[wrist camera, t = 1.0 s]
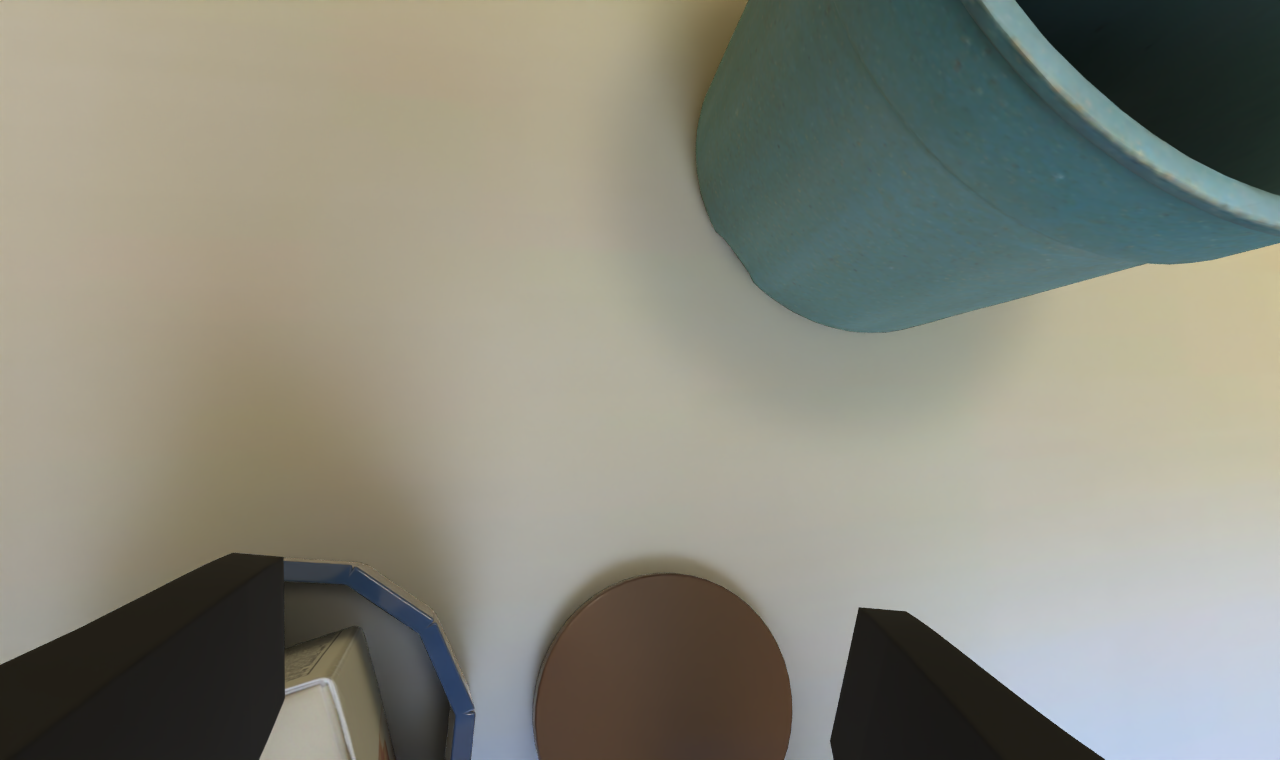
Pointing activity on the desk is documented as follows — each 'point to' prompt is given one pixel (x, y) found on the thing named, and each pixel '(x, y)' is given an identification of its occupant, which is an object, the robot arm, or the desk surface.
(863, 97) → the flower pot
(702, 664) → the walnut coaster
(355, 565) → the blue ring
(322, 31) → the desk surface
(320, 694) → the drug facts carton
